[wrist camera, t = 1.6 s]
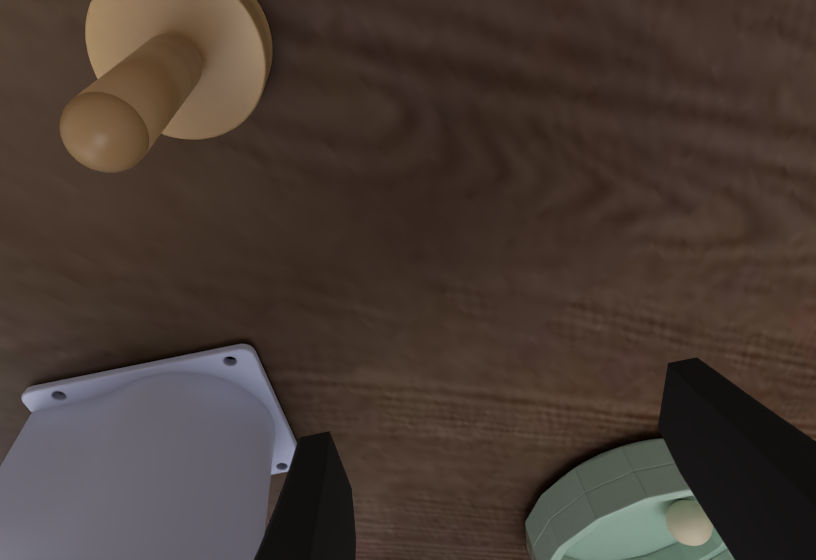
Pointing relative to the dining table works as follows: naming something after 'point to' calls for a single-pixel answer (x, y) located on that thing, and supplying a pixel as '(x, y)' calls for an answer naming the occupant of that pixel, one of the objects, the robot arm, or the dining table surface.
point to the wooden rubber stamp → (165, 76)
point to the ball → (688, 523)
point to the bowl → (616, 510)
